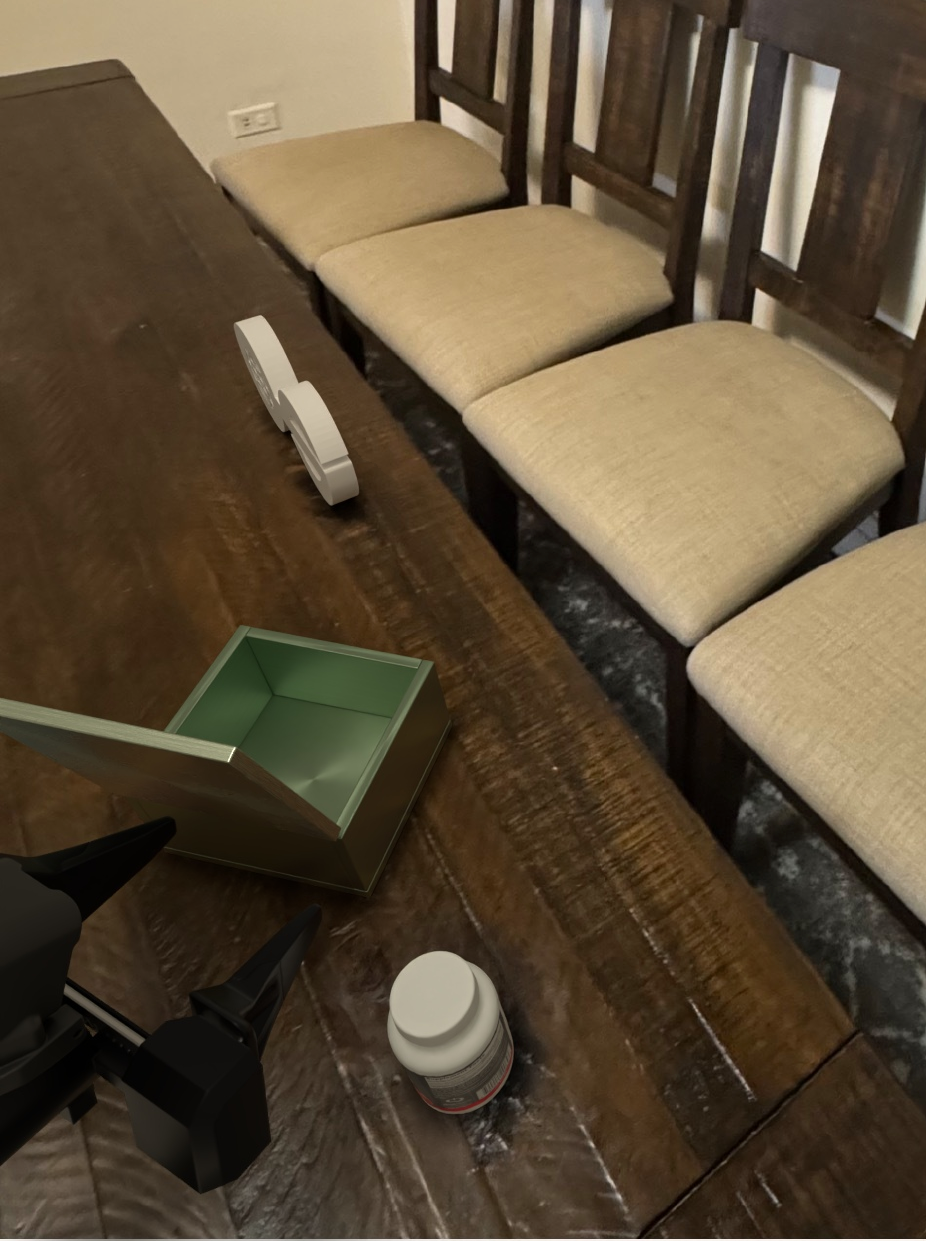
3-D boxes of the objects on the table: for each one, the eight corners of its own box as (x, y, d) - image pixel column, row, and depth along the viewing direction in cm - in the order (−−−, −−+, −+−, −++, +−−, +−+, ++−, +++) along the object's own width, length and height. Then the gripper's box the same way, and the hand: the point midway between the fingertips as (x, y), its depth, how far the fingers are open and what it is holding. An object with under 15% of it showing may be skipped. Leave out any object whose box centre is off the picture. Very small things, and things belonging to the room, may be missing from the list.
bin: (272, 690, 71) (240, 624, 66) (452, 725, 69) (434, 661, 64) (165, 852, 62) (119, 791, 57) (370, 898, 60) (341, 839, 55)
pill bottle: (403, 1035, 55) (363, 962, 48) (499, 992, 57) (473, 917, 50) (426, 1136, 52) (387, 1074, 45) (527, 1088, 53) (504, 1021, 47)
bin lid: (-37, 689, 46) (-48, 705, 45) (236, 745, 44) (228, 763, 44) (119, 780, 57) (112, 793, 57) (342, 827, 55) (336, 842, 55)
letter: (257, 394, 95) (223, 302, 88) (280, 386, 96) (248, 295, 89) (343, 528, 83) (311, 434, 76) (368, 517, 84) (340, 424, 77)
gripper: (4, 1196, 27) (401, 829, 40) (-373, 889, 33) (79, 654, 46) (70, 1377, 33) (401, 1003, 46) (-264, 1086, 38) (114, 826, 51)
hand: (244, 865), depth 47 cm, fingers open, 9 cm apart
